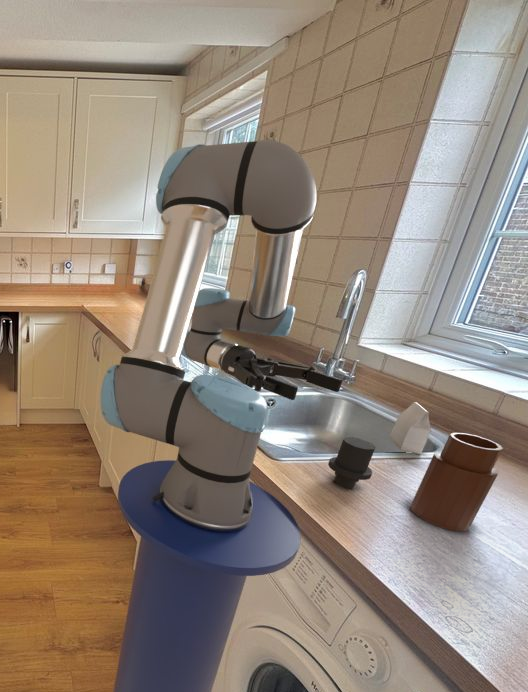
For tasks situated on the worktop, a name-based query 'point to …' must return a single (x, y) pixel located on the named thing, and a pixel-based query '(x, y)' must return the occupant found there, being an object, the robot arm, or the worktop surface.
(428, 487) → the brown stepped cylinder
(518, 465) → the worktop surface
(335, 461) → the bung
